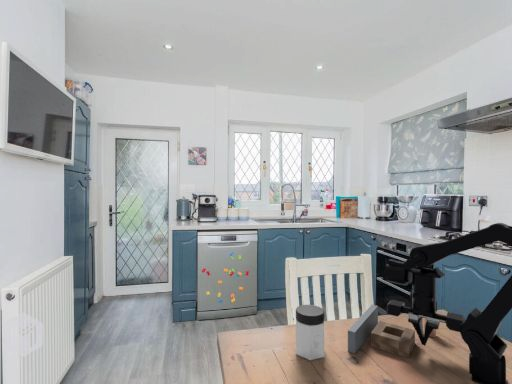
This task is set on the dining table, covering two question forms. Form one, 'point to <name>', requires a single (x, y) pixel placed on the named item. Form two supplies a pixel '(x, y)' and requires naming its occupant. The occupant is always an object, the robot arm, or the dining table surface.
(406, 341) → the block
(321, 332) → the jar
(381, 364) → the dining table surface
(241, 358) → the dining table surface
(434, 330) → the dowel
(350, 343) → the bar
